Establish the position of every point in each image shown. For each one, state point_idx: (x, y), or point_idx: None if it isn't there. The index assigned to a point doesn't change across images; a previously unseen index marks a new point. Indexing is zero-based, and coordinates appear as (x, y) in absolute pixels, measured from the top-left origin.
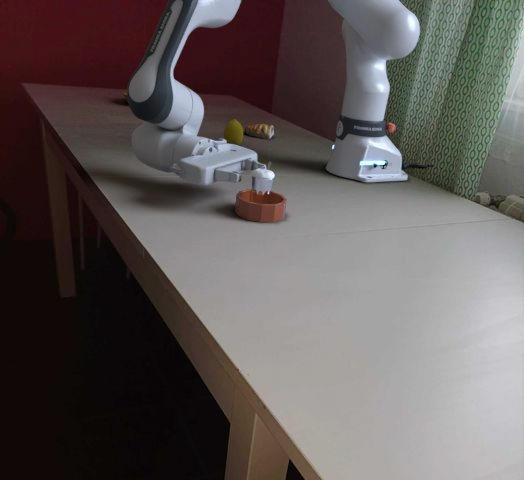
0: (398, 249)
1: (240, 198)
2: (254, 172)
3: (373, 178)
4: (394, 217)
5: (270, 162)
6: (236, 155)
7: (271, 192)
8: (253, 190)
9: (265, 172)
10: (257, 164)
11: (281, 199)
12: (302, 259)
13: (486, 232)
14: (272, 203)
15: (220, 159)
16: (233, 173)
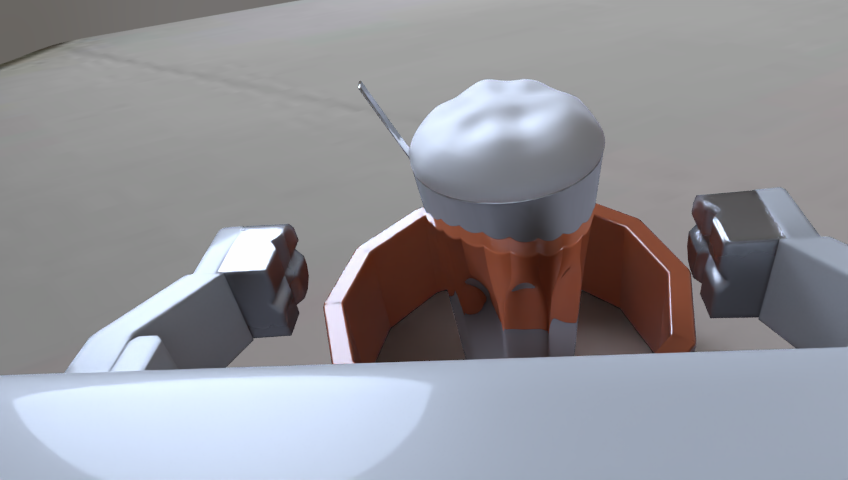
0: (449, 52)
1: (683, 343)
2: (583, 138)
3: None
4: (176, 121)
5: (362, 89)
6: (181, 454)
7: (343, 306)
8: (585, 256)
9: (543, 86)
10: (259, 259)
11: (399, 248)
12: (783, 93)
13: (189, 38)
14: (364, 343)
15: (688, 468)
16: (798, 210)
